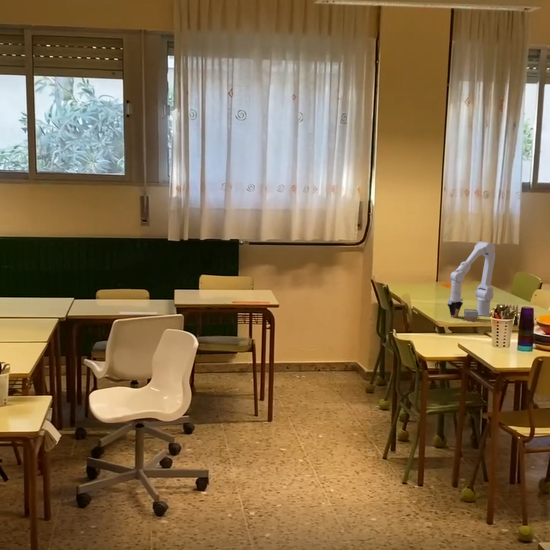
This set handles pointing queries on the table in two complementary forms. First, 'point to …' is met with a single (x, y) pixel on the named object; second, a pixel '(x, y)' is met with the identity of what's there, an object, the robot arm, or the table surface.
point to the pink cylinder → (455, 314)
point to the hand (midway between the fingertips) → (454, 314)
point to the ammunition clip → (516, 313)
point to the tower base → (471, 318)
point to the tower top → (470, 313)
